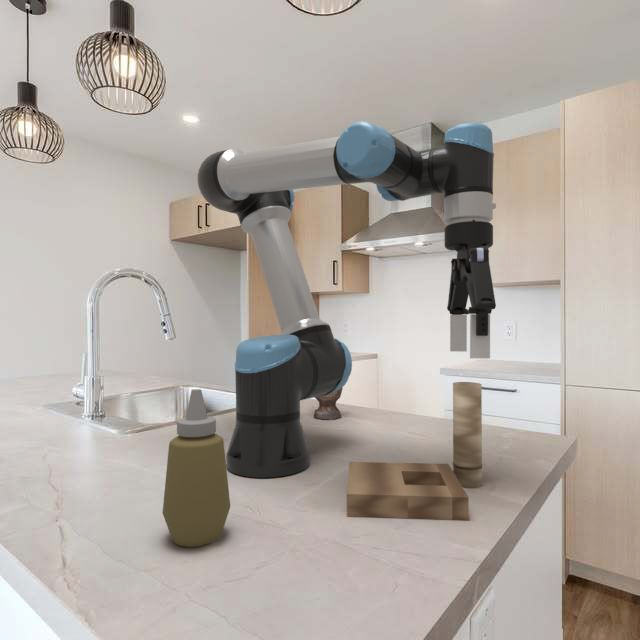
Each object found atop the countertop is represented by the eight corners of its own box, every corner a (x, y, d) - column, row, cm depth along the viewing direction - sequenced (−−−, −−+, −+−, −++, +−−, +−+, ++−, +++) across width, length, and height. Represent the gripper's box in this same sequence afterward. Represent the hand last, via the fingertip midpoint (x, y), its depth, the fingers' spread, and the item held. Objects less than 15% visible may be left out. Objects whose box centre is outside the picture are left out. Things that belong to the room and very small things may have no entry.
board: (346, 516, 62) (346, 493, 62) (349, 479, 76) (349, 461, 76) (468, 520, 60) (468, 497, 60) (448, 482, 74) (448, 463, 74)
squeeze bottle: (235, 521, 60) (234, 384, 60) (224, 552, 52) (223, 395, 52) (173, 522, 60) (172, 385, 60) (153, 554, 52) (152, 395, 52)
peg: (456, 487, 72) (455, 385, 72) (450, 477, 76) (450, 381, 76) (485, 488, 72) (485, 386, 72) (478, 478, 76) (477, 382, 76)
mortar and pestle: (296, 415, 126) (296, 343, 126) (317, 411, 132) (317, 341, 132) (329, 422, 118) (328, 344, 118) (349, 416, 125) (349, 343, 125)
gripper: (520, 205, 62) (520, 362, 62) (471, 237, 87) (471, 349, 87) (463, 206, 62) (463, 361, 63) (431, 237, 87) (431, 349, 88)
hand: (468, 354), depth 75 cm, fingers open, 13 cm apart
